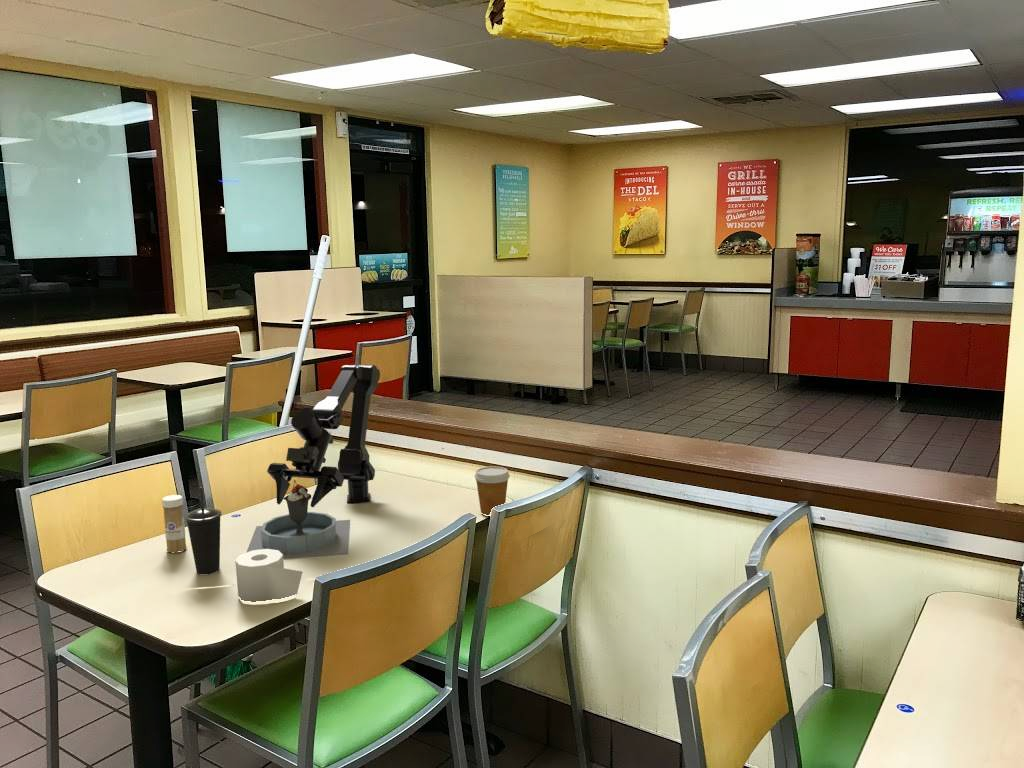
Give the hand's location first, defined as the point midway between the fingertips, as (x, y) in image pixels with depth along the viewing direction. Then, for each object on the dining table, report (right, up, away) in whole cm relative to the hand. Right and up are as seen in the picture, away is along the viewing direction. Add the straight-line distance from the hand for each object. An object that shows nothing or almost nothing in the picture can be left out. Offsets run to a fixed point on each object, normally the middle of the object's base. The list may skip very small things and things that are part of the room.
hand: (294, 505), depth 195 cm
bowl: (0, -9, +3) cm, 10 cm away
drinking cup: (-16, -13, -15) cm, 25 cm away
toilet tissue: (+2, -15, -27) cm, 31 cm away
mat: (0, -9, +3) cm, 10 cm away
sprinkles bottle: (-28, -11, -2) cm, 30 cm away
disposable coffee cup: (+48, -6, +21) cm, 53 cm away
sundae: (0, -8, +3) cm, 9 cm away
